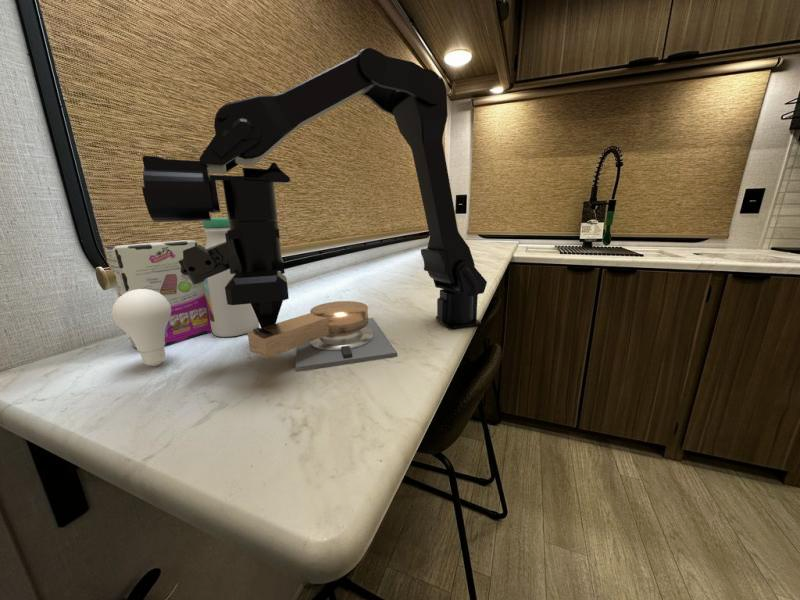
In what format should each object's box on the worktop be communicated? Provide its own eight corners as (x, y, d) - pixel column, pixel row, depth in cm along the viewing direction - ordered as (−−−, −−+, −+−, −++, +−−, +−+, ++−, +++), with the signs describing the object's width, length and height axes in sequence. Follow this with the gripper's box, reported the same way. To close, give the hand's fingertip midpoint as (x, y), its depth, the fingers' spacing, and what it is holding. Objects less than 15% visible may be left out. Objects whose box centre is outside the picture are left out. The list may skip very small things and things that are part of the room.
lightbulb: (117, 372, 42) (95, 293, 40) (163, 353, 48) (147, 283, 45) (147, 379, 40) (126, 296, 38) (192, 359, 46) (176, 285, 43)
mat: (372, 320, 61) (372, 314, 61) (397, 356, 45) (397, 348, 45) (297, 329, 57) (297, 323, 57) (296, 371, 41) (295, 363, 41)
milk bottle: (267, 323, 61) (252, 217, 56) (244, 338, 53) (225, 217, 48) (229, 323, 62) (211, 218, 56) (202, 337, 54) (178, 218, 49)
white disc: (366, 324, 57) (366, 313, 57) (379, 345, 48) (379, 333, 47) (307, 331, 55) (306, 320, 54) (309, 355, 45) (307, 342, 44)
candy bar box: (201, 326, 60) (184, 239, 56) (215, 331, 57) (199, 240, 53) (129, 347, 51) (102, 245, 47) (142, 353, 48) (115, 246, 44)
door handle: (341, 312, 57) (340, 296, 56) (379, 321, 51) (379, 304, 51) (240, 346, 42) (237, 326, 42) (278, 363, 37) (275, 341, 36)
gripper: (196, 219, 45) (214, 320, 50) (151, 225, 29) (184, 377, 33) (278, 218, 49) (288, 312, 54) (281, 223, 32) (295, 359, 37)
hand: (268, 334), depth 44 cm, fingers closed
